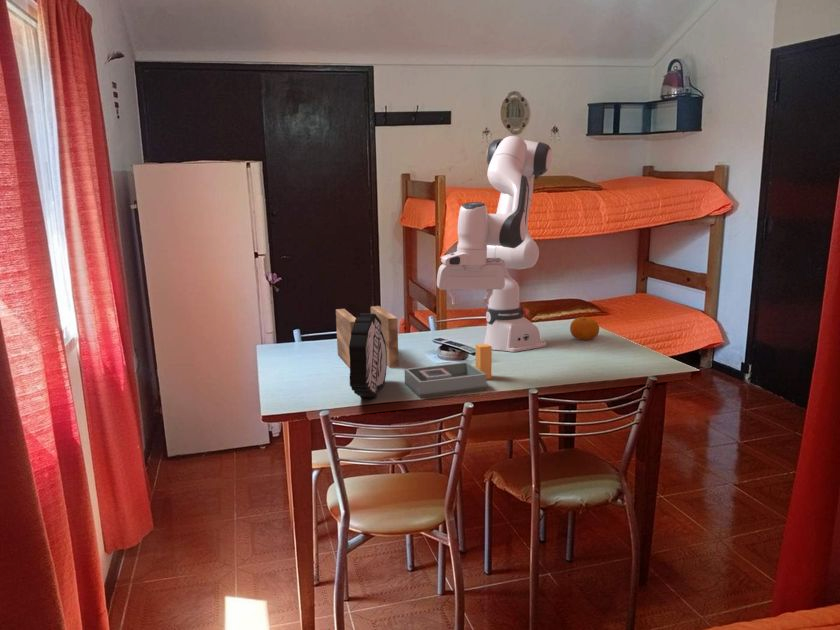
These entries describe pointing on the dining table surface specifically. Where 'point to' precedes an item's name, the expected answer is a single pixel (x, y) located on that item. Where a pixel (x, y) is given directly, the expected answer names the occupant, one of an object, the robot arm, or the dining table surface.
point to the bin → (447, 380)
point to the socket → (434, 374)
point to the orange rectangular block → (484, 358)
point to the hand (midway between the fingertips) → (470, 304)
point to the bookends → (387, 327)
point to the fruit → (584, 328)
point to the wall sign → (367, 356)
